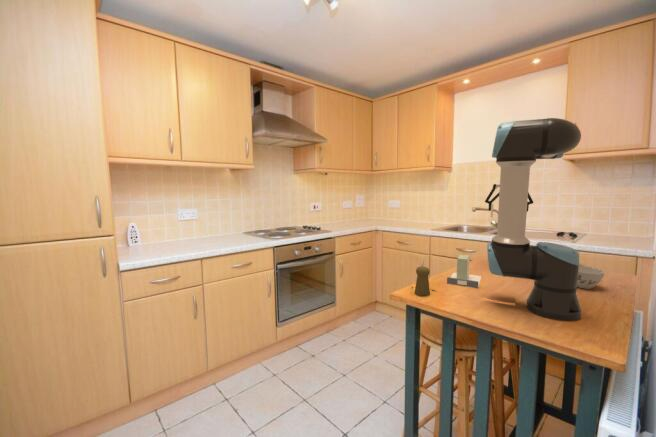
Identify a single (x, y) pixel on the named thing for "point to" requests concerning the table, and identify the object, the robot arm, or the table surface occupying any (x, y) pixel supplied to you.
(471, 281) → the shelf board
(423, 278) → the olive tapered upright piece
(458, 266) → the tea tin
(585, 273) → the teacup
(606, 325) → the table surface
